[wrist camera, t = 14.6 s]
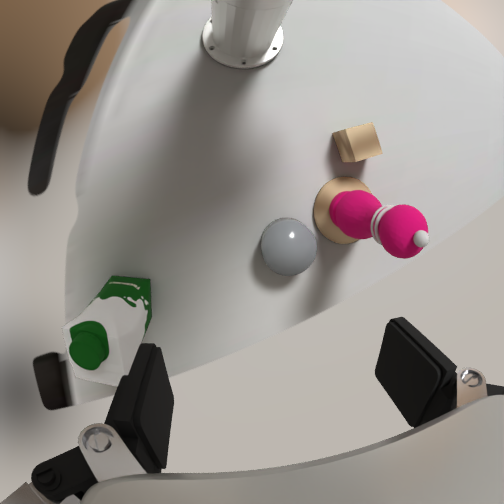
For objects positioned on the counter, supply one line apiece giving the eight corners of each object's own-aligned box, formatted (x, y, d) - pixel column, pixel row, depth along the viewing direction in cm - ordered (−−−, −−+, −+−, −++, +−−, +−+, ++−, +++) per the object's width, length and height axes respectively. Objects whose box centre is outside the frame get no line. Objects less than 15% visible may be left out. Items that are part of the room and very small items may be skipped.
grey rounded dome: (255, 262, 44) (257, 270, 41) (266, 212, 42) (268, 216, 39) (303, 270, 45) (309, 279, 41) (315, 223, 43) (322, 228, 39)
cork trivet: (313, 175, 41) (315, 175, 41) (373, 178, 42) (376, 178, 42) (312, 244, 44) (314, 245, 44) (370, 241, 46) (373, 242, 45)
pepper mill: (372, 200, 43) (457, 224, 24) (353, 238, 44) (430, 284, 25) (337, 179, 41) (418, 191, 22) (318, 220, 43) (387, 260, 24)
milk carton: (155, 274, 43) (117, 345, 24) (157, 322, 45) (129, 405, 26) (106, 269, 42) (47, 331, 23) (111, 316, 44) (66, 390, 25)
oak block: (332, 133, 40) (345, 129, 35) (357, 126, 40) (372, 122, 35) (342, 162, 41) (356, 161, 37) (366, 154, 41) (382, 153, 37)
